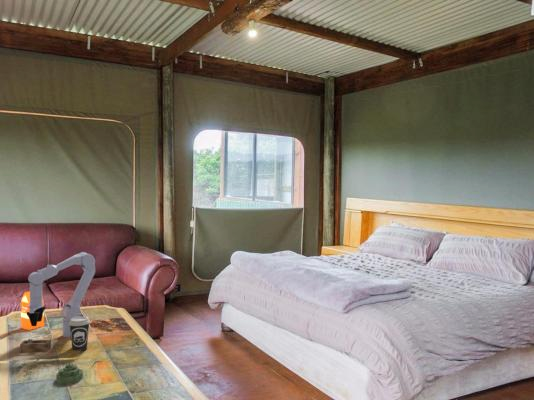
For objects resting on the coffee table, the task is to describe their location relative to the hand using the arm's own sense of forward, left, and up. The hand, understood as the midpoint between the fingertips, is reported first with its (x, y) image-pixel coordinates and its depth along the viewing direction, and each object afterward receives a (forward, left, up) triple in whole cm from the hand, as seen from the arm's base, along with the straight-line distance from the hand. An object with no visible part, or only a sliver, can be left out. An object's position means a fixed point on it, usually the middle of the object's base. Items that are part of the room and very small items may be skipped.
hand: (36, 323), depth 234 cm
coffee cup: (-23, +12, -10) cm, 28 cm away
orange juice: (+11, -29, -10) cm, 33 cm away
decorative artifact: (-27, +47, -10) cm, 55 cm away
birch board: (-4, +9, -10) cm, 14 cm away
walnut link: (-4, +13, -9) cm, 16 cm away
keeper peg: (-1, +13, -10) cm, 16 cm away
